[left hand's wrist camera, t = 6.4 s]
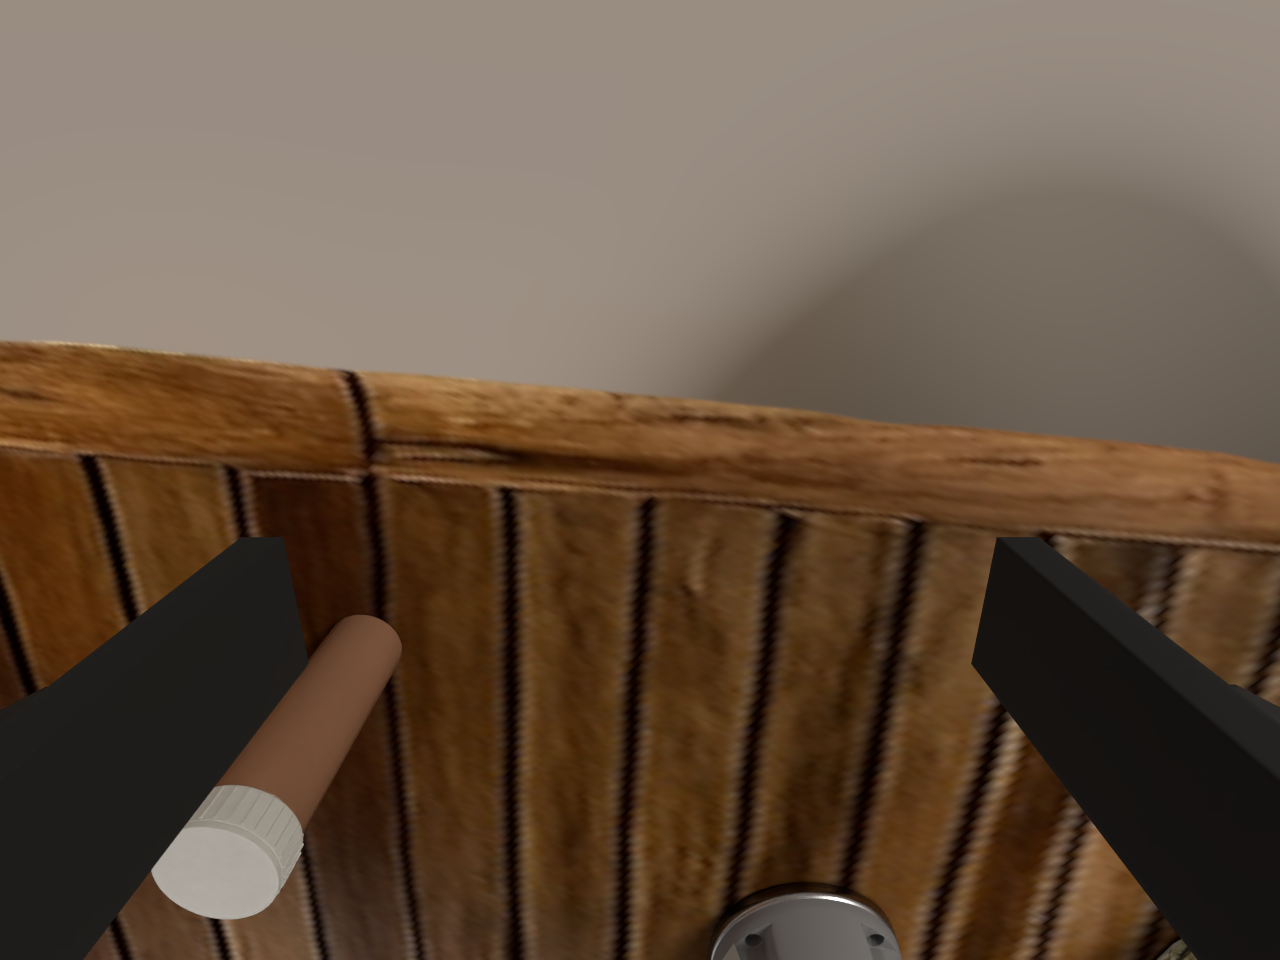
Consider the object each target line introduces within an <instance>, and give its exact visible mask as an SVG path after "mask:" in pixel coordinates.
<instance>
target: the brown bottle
mask: <svg viewBox="0 0 1280 960" xmlns="http://www.w3.org/2000/svg"><path fill="white" fill-rule="evenodd" d="M401 654H402V645H401V641H400V639H399V636H398V635H397V633H396V632H395V630H394V629H393V628H392V627H391V626H390V625H389V624H387V623H386V622H384V621H383V620H381V619H379V618H376V617H373V616H369V615H353V616H349V617H346V618H344V619H342V620H340V621H339V622H338V623H337V624H336V625H335V626H334V627H333V628H332V630H331V631H330V632H329V633H328V635H327V636H326V637H325V639H324V640H323V641H322V643H321V644H320V645H319V646H318V648H317V649H316V650H315V652H314V653H313V654H312V656H311V657H310V658H309V659H308V663H309V664H308V665H307V667H306V668H305V669H304V671H303V672H302V673H301V674H300V676H299V677H298V678H297V680H296V681H295V682H294V684H293V685H292V686H291V688H290V689H289V690H288V691H287V693H286V694H285V695H284V697H283V698H282V699H281V701H280V702H279V703H278V705H277V706H276V707H275V709H274V710H273V711H272V712H271V714H270V715H269V716H268V718H267V719H266V720H265V722H264V723H263V724H262V726H261V727H260V728H259V729H258V731H257V732H256V733H255V735H254V736H253V737H252V739H251V740H250V741H249V743H248V744H247V745H246V747H245V748H244V749H243V750H242V752H241V753H240V754H239V756H238V757H237V758H236V760H235V761H234V762H233V764H232V765H231V766H230V768H229V769H228V770H227V771H226V773H225V774H224V775H223V777H222V778H221V779H220V781H219V782H218V783H217V785H216V786H215V787H217V786H223V785H241V786H248V787H252V788H256V789H259V790H262V791H264V792H267V793H269V794H271V795H273V796H274V797H276V798H278V799H279V800H281V801H282V802H283V803H284V804H286V805H287V806H288V807H289V808H290V809H291V810H292V811H293V813H294V814H295V815H296V817H297V819H298V820H299V822H300V825H301V828H302V832H303V833H304V831H305V829H306V827H307V826H308V824H309V822H310V820H311V819H312V817H313V815H314V813H315V811H316V810H317V808H318V806H319V804H320V802H321V801H322V799H323V797H324V795H325V793H326V792H327V790H328V788H329V786H330V784H331V783H332V781H333V779H334V777H335V775H336V774H337V772H338V770H339V768H340V767H341V765H342V763H343V761H344V759H345V758H346V756H347V754H348V752H349V750H350V749H351V747H352V745H353V743H354V741H355V740H356V738H357V736H358V734H359V732H360V731H361V729H362V727H363V725H364V723H365V722H366V720H367V718H368V716H369V715H370V713H371V711H372V709H373V707H374V706H375V704H376V702H377V700H378V698H379V697H380V695H381V693H382V691H383V689H384V688H385V686H386V684H387V682H388V680H389V679H390V677H391V675H392V673H393V671H394V670H395V668H396V666H397V664H398V663H399V661H400V658H401Z"/></svg>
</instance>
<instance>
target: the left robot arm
mask: <svg viewBox="0 0 1280 960" xmlns="http://www.w3.org/2000/svg"><path fill="white" fill-rule="evenodd" d="M308 664H309V663H308V658H307V653H306V648H305V643H304V638H303V633H302V629H301V624H300V619H299V614H298V609H297V604H296V599H295V594H294V589H293V584H292V579H291V574H290V569H289V564H288V559H287V554H286V549H285V544H284V539H283V537H241V538H240V539H239V540H237V541H236V542H235V543H234V544H232V545H231V546H230V547H228V548H227V549H226V550H224V551H223V552H222V553H221V554H219V555H218V556H217V557H215V558H214V559H213V560H212V561H210V562H209V563H208V564H206V565H205V566H204V567H202V568H201V569H200V570H199V571H197V572H196V573H195V574H193V575H192V576H191V577H190V578H188V579H187V580H186V581H184V582H183V583H182V584H180V585H179V586H178V587H177V588H175V589H174V590H173V591H171V592H170V593H169V594H168V595H166V596H165V597H164V598H162V599H161V600H160V601H158V602H157V603H156V604H155V605H153V606H152V607H151V608H149V609H148V610H147V611H146V612H144V613H143V614H142V615H140V616H139V617H138V618H136V619H135V620H134V621H133V622H131V623H130V624H129V625H127V626H126V627H125V628H124V629H122V630H121V631H120V632H118V633H117V634H116V635H114V636H113V637H112V638H111V639H109V640H108V641H107V642H105V643H104V644H103V645H102V646H100V647H99V648H98V649H96V650H95V651H94V652H92V653H91V654H90V655H89V656H87V657H86V658H85V659H83V660H82V661H81V662H80V663H78V664H77V665H76V666H74V667H73V668H72V669H70V670H69V671H68V672H67V673H65V674H64V675H63V676H61V677H60V678H59V679H57V680H56V681H55V682H54V683H52V684H51V685H50V686H48V687H44V688H43V689H41V690H39V691H37V692H35V693H33V694H31V695H29V696H27V697H25V698H23V699H21V700H19V701H17V702H16V703H14V704H12V705H10V706H8V707H6V708H4V709H2V710H0V960H83V959H84V958H85V956H86V955H87V954H88V952H89V951H90V950H91V948H92V947H93V946H94V944H95V943H96V942H97V941H98V939H99V938H100V937H101V935H102V934H103V933H104V931H105V930H106V929H107V927H108V926H109V925H110V923H111V922H112V921H113V920H114V918H115V917H116V916H117V914H118V913H119V912H120V910H121V909H122V908H123V906H124V905H125V904H126V903H127V901H128V900H129V899H130V897H131V896H132V895H133V893H134V892H135V891H136V889H137V888H138V887H139V885H140V884H141V883H142V882H143V880H144V879H145V878H146V876H147V875H148V874H149V872H150V871H151V870H152V868H153V867H154V866H155V865H156V863H157V862H158V861H159V859H160V858H161V857H162V855H163V854H164V853H165V851H166V850H167V849H168V847H169V846H170V845H171V844H172V842H173V841H174V840H175V838H176V837H177V836H178V834H179V833H180V832H181V830H182V829H183V828H184V826H185V825H186V824H187V823H188V821H189V820H190V819H191V817H192V816H193V815H194V813H195V812H196V811H197V809H198V808H199V807H200V806H201V804H202V803H203V802H204V800H205V799H206V798H207V796H208V795H209V794H210V792H211V791H212V790H213V788H214V787H215V786H216V785H217V783H218V782H219V781H220V779H221V778H222V777H223V775H224V774H225V773H226V771H227V770H228V769H229V768H230V766H231V765H232V764H233V762H234V761H235V760H236V758H237V757H238V756H239V754H240V753H241V752H242V750H243V749H244V748H245V747H246V745H247V744H248V743H249V741H250V740H251V739H252V737H253V736H254V735H255V733H256V732H257V731H258V729H259V728H260V727H261V726H262V724H263V723H264V722H265V720H266V719H267V718H268V716H269V715H270V714H271V712H272V711H273V710H274V709H275V707H276V706H277V705H278V703H279V702H280V701H281V699H282V698H283V697H284V695H285V694H286V693H287V691H288V690H289V689H290V688H291V686H292V685H293V684H294V682H295V681H296V680H297V678H298V677H299V676H300V674H301V673H302V672H303V671H304V669H305V668H306V667H307V665H308ZM971 664H972V665H973V667H974V668H975V669H976V671H977V672H978V673H979V674H980V676H981V677H982V678H983V680H984V681H985V682H986V684H987V685H988V686H989V688H990V689H991V690H992V691H993V693H994V694H995V695H996V697H997V698H998V699H999V701H1000V702H1001V703H1002V705H1003V706H1004V707H1005V709H1006V710H1007V711H1008V712H1009V714H1010V715H1011V716H1012V718H1013V719H1014V720H1015V722H1016V723H1017V724H1018V726H1019V727H1020V728H1021V730H1022V731H1023V732H1024V733H1025V735H1026V736H1027V737H1028V739H1029V740H1030V741H1031V743H1032V744H1033V745H1034V747H1035V748H1036V749H1037V750H1038V752H1039V753H1040V754H1041V756H1042V757H1043V758H1044V760H1045V761H1046V762H1047V764H1048V765H1049V766H1050V768H1051V769H1052V770H1053V771H1054V773H1055V774H1056V775H1057V777H1058V778H1059V779H1060V781H1061V782H1062V783H1063V785H1064V786H1065V787H1066V788H1067V790H1068V791H1069V792H1070V794H1071V795H1072V796H1073V798H1074V799H1075V800H1076V802H1077V803H1078V804H1079V806H1080V807H1081V808H1082V809H1083V811H1084V812H1085V813H1086V815H1087V816H1088V817H1089V819H1090V820H1091V821H1092V823H1093V824H1094V825H1095V826H1096V828H1097V829H1098V830H1099V832H1100V833H1101V834H1102V836H1103V837H1104V838H1105V840H1106V841H1107V842H1108V844H1109V845H1110V846H1111V847H1112V849H1113V850H1114V851H1115V853H1116V854H1117V855H1118V857H1119V858H1120V859H1121V861H1122V862H1123V863H1124V865H1125V866H1126V867H1127V868H1128V870H1129V871H1130V872H1131V874H1132V875H1133V876H1134V878H1135V879H1136V880H1137V882H1138V883H1139V884H1140V885H1141V887H1142V888H1143V889H1144V891H1145V892H1146V893H1147V895H1148V896H1149V897H1150V899H1151V900H1152V901H1153V903H1154V904H1155V905H1156V906H1157V908H1158V909H1159V910H1160V912H1161V913H1162V914H1163V916H1164V917H1165V918H1166V920H1167V921H1168V922H1169V923H1170V925H1171V926H1172V927H1173V929H1174V930H1175V931H1176V933H1177V934H1178V935H1179V937H1180V938H1181V939H1182V941H1183V942H1184V943H1185V944H1186V946H1187V947H1188V948H1189V950H1190V951H1191V952H1192V954H1193V955H1194V956H1195V958H1196V959H1197V960H1280V707H1278V706H1276V705H1274V704H1272V703H1270V702H1268V701H1266V700H1264V699H1263V698H1261V697H1259V696H1257V695H1255V694H1253V693H1251V692H1249V691H1247V690H1245V689H1243V688H1241V687H1239V686H1237V685H1229V684H1228V683H1226V682H1225V681H1224V680H1223V679H1221V678H1220V677H1219V676H1217V675H1216V674H1215V673H1213V672H1212V671H1211V670H1210V669H1208V668H1207V667H1206V666H1204V665H1203V664H1202V663H1201V662H1199V661H1198V660H1197V659H1195V658H1194V657H1193V656H1191V655H1190V654H1189V653H1188V652H1186V651H1185V650H1184V649H1182V648H1181V647H1180V646H1178V645H1177V644H1176V643H1175V642H1173V641H1172V640H1171V639H1169V638H1168V637H1167V636H1166V635H1164V634H1163V633H1162V632H1160V631H1159V630H1158V629H1156V628H1155V627H1154V626H1153V625H1151V624H1150V623H1149V622H1147V621H1146V620H1145V619H1144V618H1142V617H1141V616H1140V615H1138V614H1137V613H1136V612H1134V611H1133V610H1132V609H1131V608H1129V607H1128V606H1127V605H1125V604H1124V603H1123V602H1122V601H1120V600H1119V599H1118V598H1116V597H1115V596H1114V595H1112V594H1111V593H1110V592H1109V591H1107V590H1106V589H1105V588H1103V587H1102V586H1101V585H1100V584H1098V583H1097V582H1096V581H1094V580H1093V579H1092V578H1090V577H1089V576H1088V575H1087V574H1085V573H1084V572H1083V571H1081V570H1080V569H1079V568H1078V567H1076V566H1075V565H1074V564H1072V563H1071V562H1070V561H1068V560H1067V559H1066V558H1065V557H1063V556H1062V555H1061V554H1059V553H1058V552H1057V551H1056V550H1054V549H1053V548H1052V547H1050V546H1049V545H1048V544H1046V543H1045V542H1044V541H1043V540H1041V539H1040V538H1039V537H997V539H996V544H995V549H994V554H993V559H992V564H991V569H990V574H989V579H988V584H987V589H986V594H985V599H984V604H983V609H982V614H981V619H980V624H979V629H978V633H977V638H976V643H975V648H974V653H973V658H972V663H971ZM709 958H710V960H902V958H901V953H900V949H899V945H898V942H897V939H896V936H895V933H894V930H893V928H892V925H891V923H890V921H889V919H888V918H887V916H886V914H885V913H884V912H883V911H882V910H881V909H880V908H879V907H878V906H877V905H876V904H875V903H874V902H872V901H871V900H870V899H868V898H866V897H865V896H863V895H861V894H859V893H857V892H855V891H852V890H849V889H847V888H843V887H839V886H835V885H829V884H821V883H798V884H790V885H784V886H779V887H775V888H772V889H769V890H766V891H763V892H760V893H758V894H756V895H754V896H752V897H750V898H748V899H746V900H744V901H743V902H741V903H740V904H738V905H737V906H736V907H734V908H733V909H732V910H731V911H730V912H729V913H728V914H727V915H726V916H725V917H724V918H723V919H722V920H721V922H720V923H719V924H718V926H717V928H716V929H715V931H714V934H713V936H712V939H711V942H710V949H709Z"/></svg>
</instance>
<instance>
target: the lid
mask: <svg viewBox="0 0 1280 960" xmlns="http://www.w3.org/2000/svg"><path fill="white" fill-rule="evenodd" d="M303 836H304V835H303V832H302V828H301V825H300V822H299V820H298V819H297V817H296V815H295V814H294V813H293V811H292V810H291V809H290V808H289V807H288V806H287V805H286V804H284V803H283V802H282V801H281V800H279V799H278V798H276V797H274V796H273V795H271V794H269V793H267V792H264V791H262V790H259V789H256V788H252V787H248V786H241V785H223V786H217V787H214V788H213V790H212V791H211V792H210V794H209V795H208V796H207V798H206V799H205V800H204V802H203V803H202V804H201V806H200V807H199V808H198V809H197V811H196V812H195V813H194V815H193V816H192V817H191V819H190V820H189V821H188V823H187V824H186V825H185V826H184V828H183V829H182V830H181V832H180V833H179V834H178V836H177V837H176V838H175V840H174V841H173V842H172V844H171V845H170V846H169V847H168V849H167V850H166V851H165V853H164V854H163V855H162V857H161V858H160V859H159V861H158V862H157V863H156V865H155V866H154V867H153V868H152V870H151V871H152V875H153V877H154V879H155V882H156V883H157V885H158V886H159V888H160V889H161V890H162V891H163V893H164V894H165V895H166V896H168V897H169V898H170V899H171V900H172V901H174V902H175V903H176V904H178V905H180V906H181V907H183V908H185V909H187V910H189V911H191V912H194V913H196V914H199V915H202V916H206V917H211V918H217V919H239V918H245V917H248V916H252V915H254V914H257V913H259V912H260V911H262V910H264V909H265V908H266V907H267V906H269V905H270V903H271V902H272V901H273V900H274V898H275V897H276V895H278V893H279V891H280V890H281V888H282V887H283V886H284V884H285V882H286V880H287V878H288V877H289V875H290V873H291V871H292V869H293V867H294V865H295V864H296V862H297V860H298V858H299V856H300V854H301V852H300V851H301V849H302V847H303V845H304V843H303Z"/></svg>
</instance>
